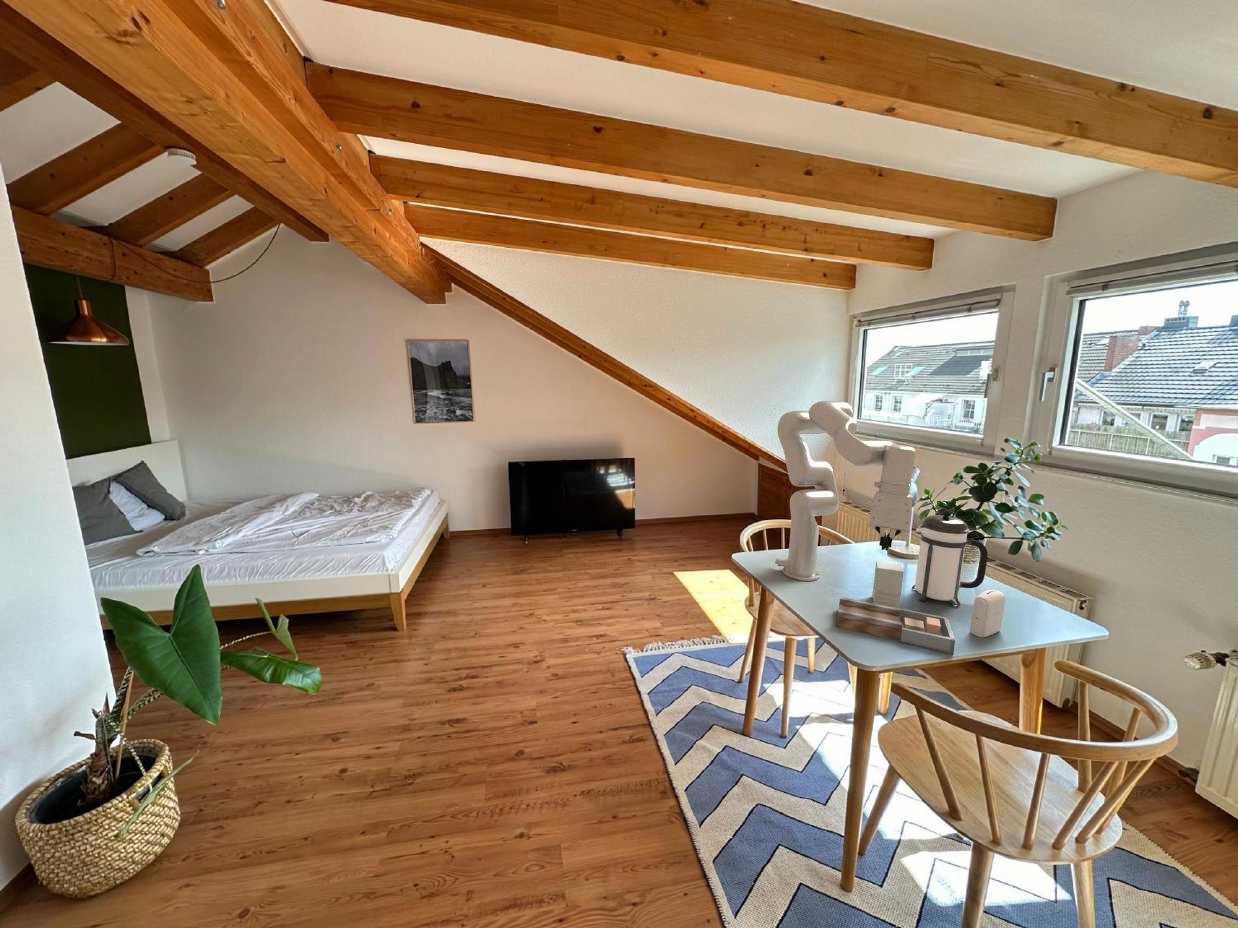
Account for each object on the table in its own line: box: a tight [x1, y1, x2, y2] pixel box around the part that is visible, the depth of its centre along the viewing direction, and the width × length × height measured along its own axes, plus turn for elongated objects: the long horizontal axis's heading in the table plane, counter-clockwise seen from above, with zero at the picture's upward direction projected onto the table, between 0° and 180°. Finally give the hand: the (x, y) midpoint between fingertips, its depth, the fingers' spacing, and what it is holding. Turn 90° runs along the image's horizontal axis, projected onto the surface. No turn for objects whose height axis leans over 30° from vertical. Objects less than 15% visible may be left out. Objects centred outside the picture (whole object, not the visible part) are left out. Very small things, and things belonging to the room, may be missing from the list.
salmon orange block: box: [924, 617, 941, 635], centre depth 134 cm, size 4×4×3 cm
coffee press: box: [911, 509, 989, 608], centre depth 158 cm, size 17×16×30 cm
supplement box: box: [871, 560, 905, 608], centre depth 155 cm, size 7×7×13 cm
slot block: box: [836, 596, 902, 642], centre depth 141 cm, size 16×12×4 cm
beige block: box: [903, 618, 924, 632], centre depth 136 cm, size 4×4×3 cm
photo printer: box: [969, 589, 1006, 638], centre depth 138 cm, size 10×4×12 cm, turn 118°
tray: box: [899, 607, 956, 656], centre depth 135 cm, size 12×14×4 cm
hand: (884, 548), depth 143 cm, fingers closed
